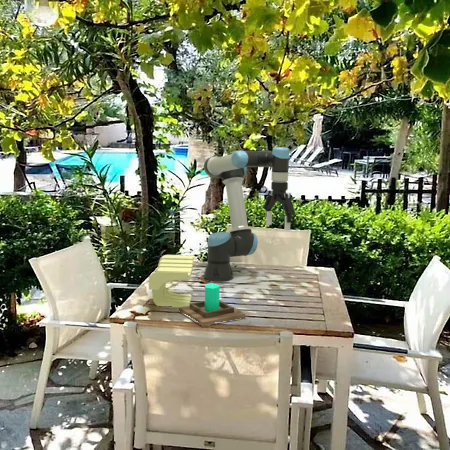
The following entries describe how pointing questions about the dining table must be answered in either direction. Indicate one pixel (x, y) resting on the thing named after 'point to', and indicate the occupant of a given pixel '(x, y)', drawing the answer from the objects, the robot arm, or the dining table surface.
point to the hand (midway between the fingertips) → (277, 227)
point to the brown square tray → (211, 313)
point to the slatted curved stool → (167, 272)
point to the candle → (212, 297)
